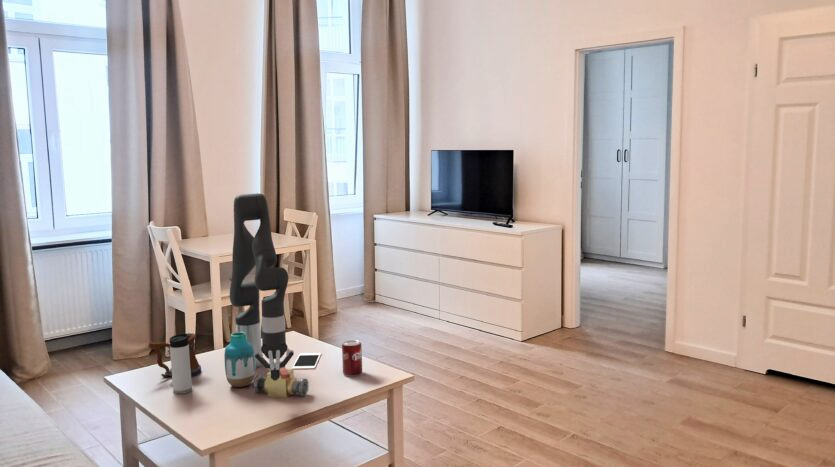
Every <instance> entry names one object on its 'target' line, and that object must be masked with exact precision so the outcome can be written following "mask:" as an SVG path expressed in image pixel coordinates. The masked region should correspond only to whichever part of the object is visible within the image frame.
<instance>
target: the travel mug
mask: <svg viewBox="0 0 835 467" xmlns="http://www.w3.org/2000/svg"><path fill="white" fill-rule="evenodd" d="M169 344H170V354H169V356H170V355H171V356H170V369H171V368H172V376H171V378H172V380H171V381H172V391H173V393H174V394H181V395H182V394H186V393H187V394H188V393H189V392H191V391H192V389H193V385H192V376H191V369H190V356H189V344H188V335H187V333H183V332H182V333H179V334H176V335H173V336H171V337H170V338H169Z"/></svg>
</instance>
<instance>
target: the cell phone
mask: <svg viewBox="0 0 835 467" xmlns="http://www.w3.org/2000/svg"><path fill="white" fill-rule="evenodd" d="M321 356H322V353H321V352H302V353H299V354H298V356H297V358H296V360H295V361H294V364H293V365H292V366H291V369H293V371H294V370H295V371H296V370H315V369H316V368H317V365H318V363H319V360H320V358H321Z"/></svg>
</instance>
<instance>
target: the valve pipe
mask: <svg viewBox="0 0 835 467" xmlns="http://www.w3.org/2000/svg"><path fill="white" fill-rule="evenodd" d="M286 370H288V372H289V373H290V378H288V379H282V378H281V376H280V377H279V379H278V380H276V381H273V379H271V370H269V372H267V373H266V377H264V375H263V374H257V375H255V378H254V380H253V382H252V383H253V384H252V386H253V391H254V392H255V393H261V392H262V391H264V392H265V393H267V396H268V397H275V398H284V399H287V398H288V397H289V396H294V395H296V394H298V396H300V397H303V398H304V397H305V396H307V395H308V391H309V381H308V378H305V377H304V378H301V379H300V380H298V379H297V378H296V377H295V376H294V372H295V371H294V370H293V369H292V368H286Z"/></svg>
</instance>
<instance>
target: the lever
mask: <svg viewBox="0 0 835 467" xmlns="http://www.w3.org/2000/svg"><path fill="white" fill-rule="evenodd" d="M282 361H283V360H280V363H282ZM275 367H276V361H274V368H275ZM286 369H287V368H286V366H285V367H283V368H280V376H281V378H282V379H288V378H290V373H289V372H288V370H286Z"/></svg>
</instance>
